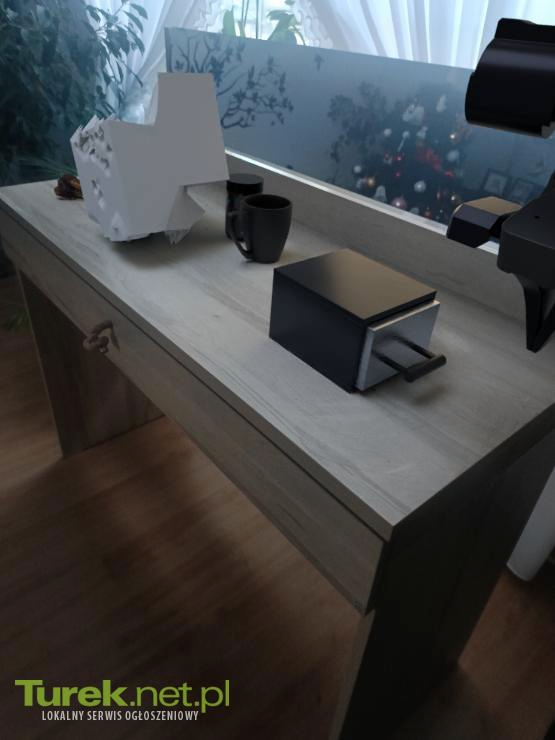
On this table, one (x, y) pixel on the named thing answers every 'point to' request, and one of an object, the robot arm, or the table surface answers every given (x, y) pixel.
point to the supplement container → (240, 197)
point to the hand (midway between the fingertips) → (533, 350)
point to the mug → (262, 226)
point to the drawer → (399, 346)
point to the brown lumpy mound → (68, 186)
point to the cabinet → (336, 309)
